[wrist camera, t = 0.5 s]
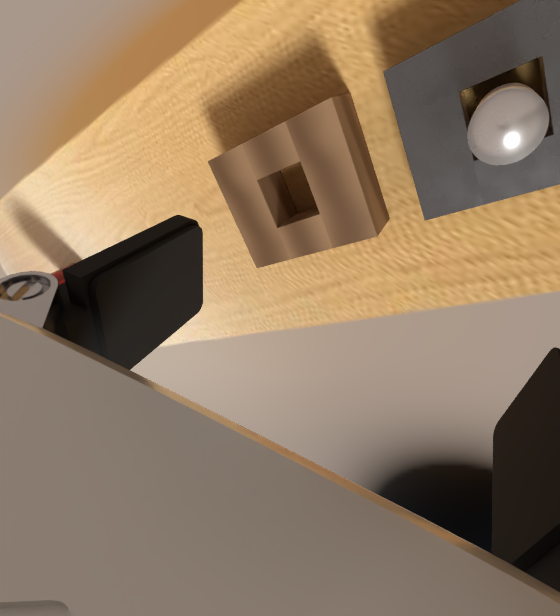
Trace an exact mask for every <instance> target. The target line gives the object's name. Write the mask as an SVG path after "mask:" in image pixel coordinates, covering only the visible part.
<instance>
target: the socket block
mask: <svg viewBox="0 0 560 616" xmlns="http://www.w3.org/2000/svg"><path fill="white" fill-rule="evenodd" d="M536 58H538V60H539V66H540V73H541V80H542V87H543V93H544V100H545V104H546V106H547V108H548V112H549V124H548V129H547V131H546V134H545V136H544V138H543V140H542V141H541V143H540V144H539V145H538V147H537V148H536V149H535V150H534V151H533V152H532V153H530V154H529V155H528V156H526V157H525V158H523V159H521V160H519V161H517V162H514V163H511V164H507V165H491V164H487V163H485V162H483V161H481V160H479V159H478V158H477V157H476V156H475V155H474V154H473V153H472V151H471V149H470V147H469V144H468V139H467V132H468V126H469V123H470V120H469V116H468V111H467V106H466V102H465V97H464V92H463V90H465V89H467V88H469V87H472V86H474V85H476V84H478V83H481V82H483V81H485V80H488V79H490V78H492V77H495V76H497V75H499V74H501V73H504V72H506V71H508V70H511V69H513V68H515V67H518V66H520V65H522V64H524V63H527V62H529V61H531V60H534V59H536ZM383 72H384V76H385V79H386V83H387V86H388V90H389V94H390V97H391V101H392V104H393V108H394V112H395V115H396V119H397V122H398V126H399V129H400V133H401V137H402V140H403V144H404V147H405V151H406V155H407V158H408V162H409V165H410V169H411V172H412V176H413V180H414V183H415V187H416V190H417V194H418V198H419V201H420V205H421V208H422V212H423V215H424V219H425V220H429V219H432V218H436V217H440V216H443V215H447V214H451V213H455V212H458V211H462V210H466V209H469V208H473V207H477V206H481V205H484V204H488V203H492V202H495V201H499V200H503V199H507V198H510V197H514V196H518V195H521V194H525V193H529V192H533V191H536V190H540V189H544V188H548V187H551V186H555V185H559V184H560V0H520V1H518V2H516V3H514V4H513V5H511V6H509V7H507V8H505V9H503V10H501V11H499V12H497V13H495V14H493V15H491V16H489V17H487V18H486V19H484V20H482V21H480V22H478V23H476V24H474V25H472V26H470V27H468V28H466V29H464V30H462V31H460V32H459V33H457V34H455V35H453V36H451V37H449V38H447V39H445V40H443V41H441V42H439V43H437V44H435V45H433V46H432V47H430V48H428V49H426V50H424V51H422V52H420V53H418V54H416V55H414V56H412V57H410V58H408V59H406V60H405V61H403V62H401V63H399V64H397V65H395V66H393V67H391V68H389V69H387V70H385V71H383Z"/></svg>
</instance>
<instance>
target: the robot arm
mask: <svg viewBox="0 0 560 616" xmlns="http://www.w3.org/2000/svg"><path fill="white" fill-rule="evenodd" d="M62 272H63V276H64V280H65V282H64V283H62V284H60V285H59V283H58V280H57V279H56V277H54V276H53V275H51V274H49V273H44V272H36V271H29V272H20V273H16V274H12V275H9V276H6V277H4V278H1V279H0V616H560V349H559V348H553V349H551V351H550V352H549V353H548V354H547V356H546V357H545V358H544V360H543V361H542V362H541V364H540V365H539V367H538V368H537V369H536V371H535V372H534V373H533V375H532V376H531V378H530V379H529V380H528V382H527V383H526V384H525V386H524V387H523V389H522V390H521V391H520V392H519V394H518V395H517V397H516V398H515V400H514V401H513V402H512V403H511V405H510V406H509V407H508V409H507V410H506V412H505V413H504V414H503V416H502V417H501V418H500V420H499V421H498V423H497V425H496V427H495V430H494V435H493V508H492V511H493V512H492V554H490V553H488V552H486V551H485V550H483V549H481V548H479V547H477V546H475V545H473V544H471V543H469V542H467V541H465V540H464V539H462V538H460V537H458V536H456V535H454V534H452V533H450V532H448V531H447V530H445V529H443V528H441V527H439V526H437V525H435V524H433V523H431V522H429V521H428V520H425V519H424V518H422V517H420V516H418V515H416V514H414V513H412V512H410V511H408V510H406V509H404V508H402V507H401V506H399V505H397V504H395V503H393V502H390V501H389V500H387V499H385V498H383V497H381V496H379V495H377V494H375V493H373V492H371V491H369V490H367V489H365V488H363V487H361V486H359V485H357V484H355V483H353V482H351V481H349V480H347V479H345V478H343V477H341V476H339V475H337V474H336V473H334V472H332V471H330V470H328V469H326V468H323V467H322V466H320V465H318V464H316V463H314V462H312V461H310V460H308V459H306V458H304V457H302V456H300V455H298V454H296V453H294V452H292V451H290V450H288V449H286V448H284V447H282V446H280V445H278V444H276V443H274V442H272V441H270V440H268V439H266V438H264V437H262V436H260V435H258V434H256V433H254V432H252V431H250V430H248V429H246V428H244V427H243V426H241V425H238V424H237V423H234V422H232V421H231V420H229V419H227V418H225V417H222V416H220V415H218V414H217V413H215V412H213V411H210V410H208V409H206V408H204V407H202V406H200V405H199V404H197V403H195V402H192V401H190V400H189V399H187V398H185V397H183V396H181V395H178V394H177V393H175V392H172V391H171V390H169V389H167V388H165V387H162V386H160V385H158V384H156V383H154V382H152V381H150V380H148V379H146V378H144V377H142V376H140V375H138V374H136V373H134V372H132V371H130V369H131V368H133V367H134V366H135V365H136V364H137V363H139V362H140V361H141V360H142V359H143V358H145V357H146V356H147V355H148V354H149V353H151V352H152V351H153V350H154V349H155V348H157V347H158V346H159V345H160V344H161V343H162V342H164V341H165V340H166V339H167V338H168V337H170V336H171V335H172V334H173V333H174V332H176V331H177V330H178V329H179V328H180V327H182V326H183V325H184V324H185V323H186V322H187V321H189V320H190V319H191V318H192V317H193V316H195V315H196V314H197V313H198V312H199V311H200V309H201V307H202V304H203V233H202V229H201V228H200V227H199V225H198V222H197V221H196V220H193V219H190V218H187V217H184V216H181V215H176V216H173V217H171V218H169V219H167V220H165V221H163V222H161V223H159V224H157V225H155V226H153V227H151V228H149V229H146V230H144V231H142V232H140V233H138V234H136V235H134V236H132V237H130V238H128V239H126V240H124V241H121V242H119V243H117V244H115V245H113V246H111V247H109V248H107V249H105V250H103V251H101V252H99V253H96V254H94V255H92V256H90V257H88V258H86V259H84V260H82V261H80V262H78V263H76V264H74V265H71V266H69V267H67V268H65V269H63V270H62Z"/></svg>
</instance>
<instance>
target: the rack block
mask: <svg viewBox="0 0 560 616" xmlns="http://www.w3.org/2000/svg"><path fill="white" fill-rule="evenodd" d="M298 162H301V165H302V167H303V170H304V173H305V175H306V178H307V181H308V183H309V186H310V189H311V191H312V194H313V197H314V199H315V202H316V205H317V206H316V207H313V208H310V209H308V210H305V211H302V212H299V213H297V212H296V209H295V207H294V204H293V202H292V199H291V197H290V194H289V191H288V189H287V186H286V184H285V181H284V179H283V176H282V174H281V171H280V170H282V169H284V168H286V167H288V166H291V165H293V164H295V163H298ZM208 163H209V165H210V167H211V170H212V172H213V174H214V176H215V178H216V180H217V183H218V185H219V187H220V189H221V191H222V193H223V196H224V198H225V200H226V202H227V204H228V207H229V209H230V211H231V213H232V215H233V217H234V220H235V222H236V224H237V226H238V228H239V230H240V233H241V235H242V237H243V239H244V241H245V244H246V246H247V248H248V250H249V252H250V254H251V257H252V259H253V261H254V263H255V265H256V267H257V268H259V267H263V266H267V265H271V264H275V263H278V262H282V261H286V260H290V259H293V258H297V257H301V256H305V255H309V254H312V253H316V252H320V251H324V250H328V249H331V248H335V247H339V246H343V245H346V244H350V243H354V242H358V241H362V240H365V239H369V238H373V237H377V236H378V235H379V233H380V232H381V230H382V229H383V227H384V226H385V225H386V223H387V222H388V220H389V219H390V218H389V215H388V212H387V209H386V206H385V202H384V199H383V196H382V193H381V190H380V186H379V183H378V180H377V177H376V174H375V170H374V167H373V164H372V161H371V158H370V154H369V151H368V148H367V145H366V142H365V138H364V135H363V132H362V129H361V126H360V122H359V119H358V116H357V113H356V109H355V106H354V103H353V100H352V97H351V93H348V94H343V95H339V96H334V97H331V98H329V99H327V100H325V101H323V102H321V103H319V104H317V105H315V106H313V107H311V108H310V109H308V110H306V111H304V112H302V113H300V114H298V115H296V116H294V117H292V118H290V119H288V120H287V121H285V122H283V123H281V124H279V125H277V126H275V127H273V128H271V129H269V130H267V131H265V132H263V133H262V134H260V135H258V136H256V137H254V138H252V139H250V140H248V141H246V142H244V143H242V144H240V145H239V146H237V147H235V148H233V149H231V150H229V151H227V152H225V153H223V154H221V155H219V156H217V157H215V158H214V159H212V160H210V161H208Z"/></svg>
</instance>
